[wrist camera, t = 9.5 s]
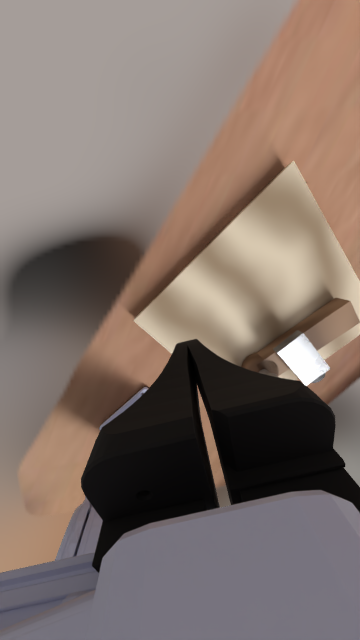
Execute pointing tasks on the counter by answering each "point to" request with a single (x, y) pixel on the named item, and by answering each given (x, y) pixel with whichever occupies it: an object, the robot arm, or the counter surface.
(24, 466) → the counter surface
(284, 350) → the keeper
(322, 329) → the link
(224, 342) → the board
